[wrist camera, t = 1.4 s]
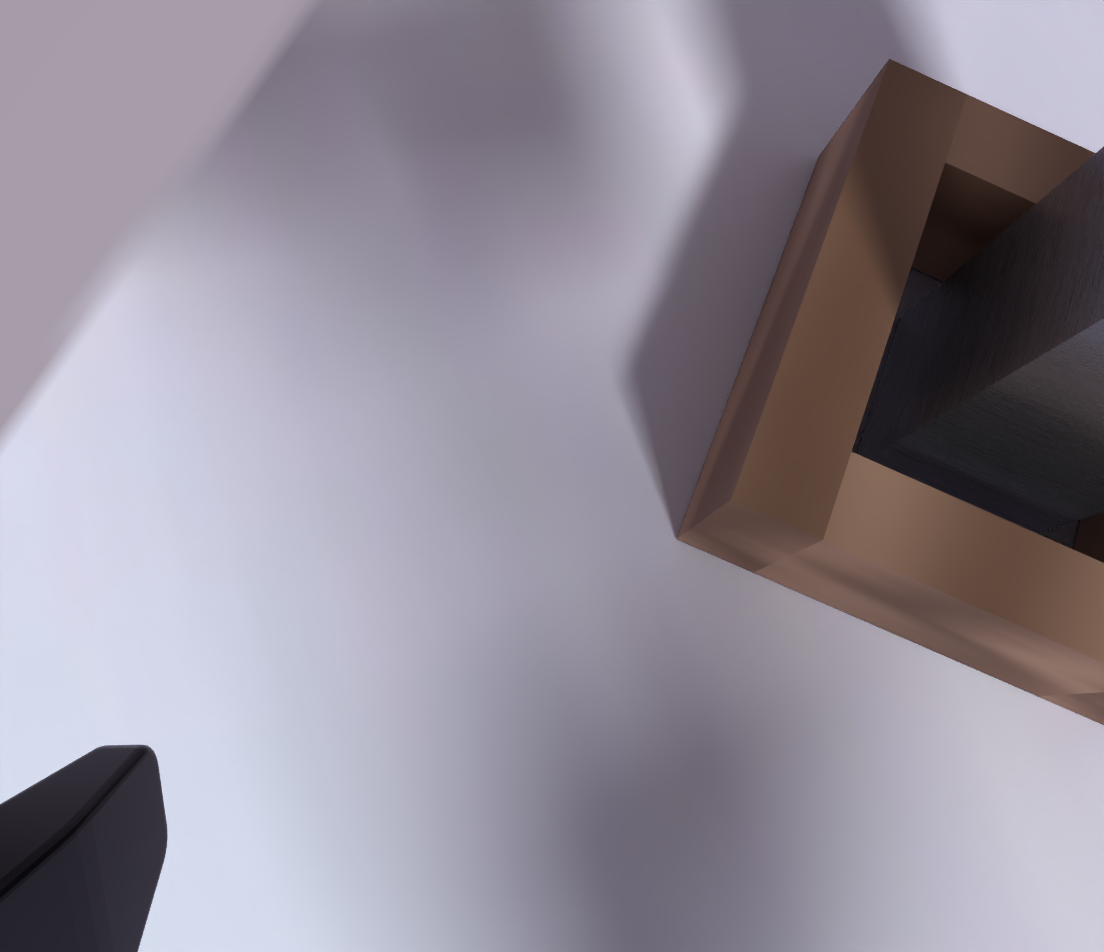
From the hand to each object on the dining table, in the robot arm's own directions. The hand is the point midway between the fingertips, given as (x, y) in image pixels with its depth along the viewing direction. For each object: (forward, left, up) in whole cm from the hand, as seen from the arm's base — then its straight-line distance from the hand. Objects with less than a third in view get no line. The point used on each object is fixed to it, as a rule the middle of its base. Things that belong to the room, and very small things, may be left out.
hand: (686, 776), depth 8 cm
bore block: (-7, -12, -14) cm, 19 cm away
